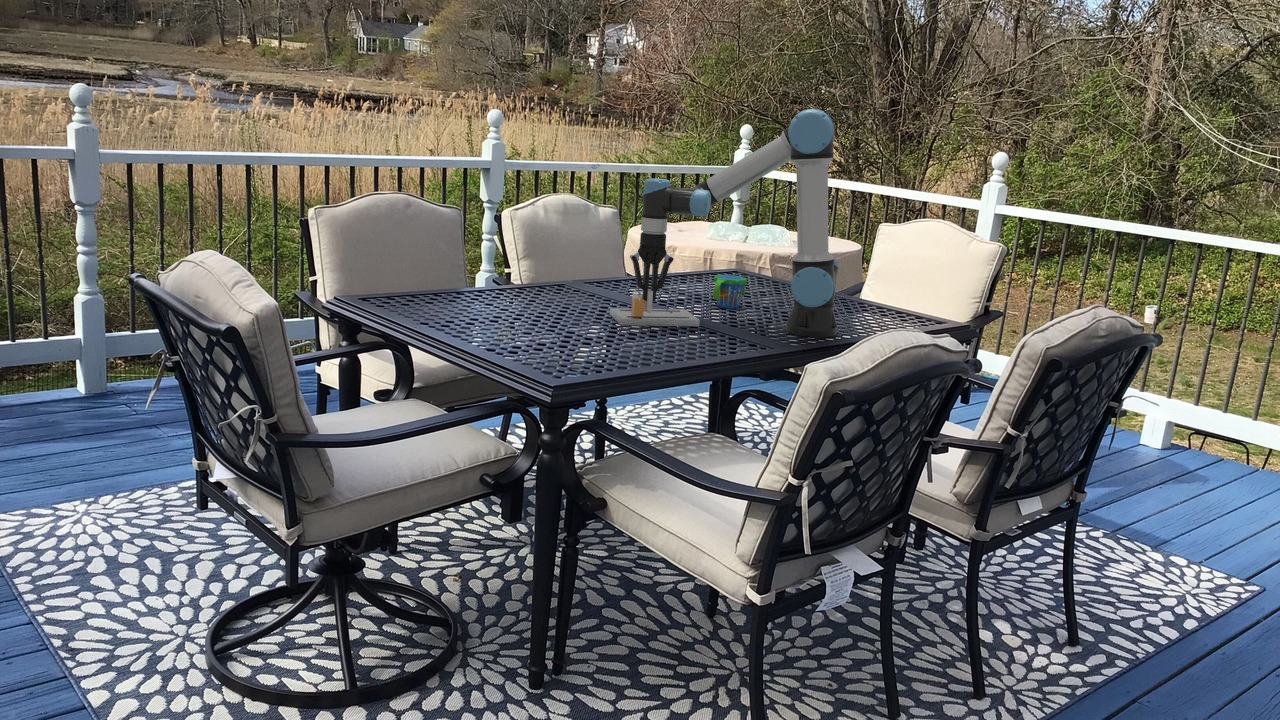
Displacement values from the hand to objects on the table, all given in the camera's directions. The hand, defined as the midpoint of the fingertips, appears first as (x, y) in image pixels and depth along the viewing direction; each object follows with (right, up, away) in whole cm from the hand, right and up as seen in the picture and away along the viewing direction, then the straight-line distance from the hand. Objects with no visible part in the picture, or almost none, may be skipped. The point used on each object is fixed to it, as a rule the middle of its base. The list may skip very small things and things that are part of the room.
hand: (648, 311), depth 291 cm
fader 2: (-3, -1, -1) cm, 3 cm away
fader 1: (-3, +1, +9) cm, 10 cm away
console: (+2, -2, +6) cm, 7 cm away
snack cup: (+27, +3, +36) cm, 45 cm away
